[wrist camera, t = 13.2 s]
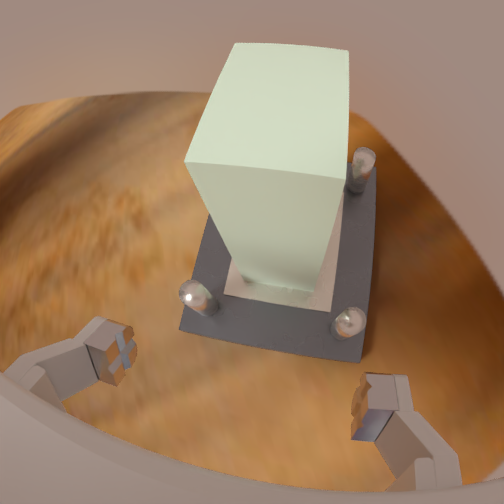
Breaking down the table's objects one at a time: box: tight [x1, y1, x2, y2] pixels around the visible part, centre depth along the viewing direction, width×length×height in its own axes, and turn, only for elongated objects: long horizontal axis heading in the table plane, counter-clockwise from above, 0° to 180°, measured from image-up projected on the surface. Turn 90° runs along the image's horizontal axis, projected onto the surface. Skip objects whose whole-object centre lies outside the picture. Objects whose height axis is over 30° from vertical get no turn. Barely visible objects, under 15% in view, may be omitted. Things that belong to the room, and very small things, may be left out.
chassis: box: [179, 147, 376, 363], centre depth 22 cm, size 13×16×5 cm
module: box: [184, 43, 349, 292], centre depth 17 cm, size 5×7×14 cm
